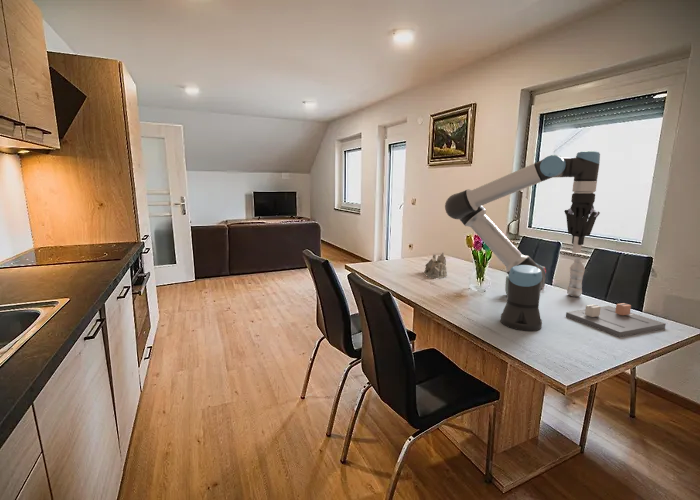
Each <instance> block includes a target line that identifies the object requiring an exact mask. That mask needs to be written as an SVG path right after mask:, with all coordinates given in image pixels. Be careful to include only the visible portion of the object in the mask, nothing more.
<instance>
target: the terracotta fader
mask: <svg viewBox="0 0 700 500" xmlns="http://www.w3.org/2000/svg"><path fill="white" fill-rule="evenodd" d="M615 308H616V311H615V313H617V314H620V315H629V314H630V312H631V310H632V309H631V308H632V305H631V304H628V303H625V302H622V303H616V305H615Z"/></svg>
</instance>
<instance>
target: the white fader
mask: <svg viewBox="0 0 700 500" xmlns="http://www.w3.org/2000/svg"><path fill="white" fill-rule="evenodd" d="M601 307H602V306H600V305H598V304H593V303H592V304H588V305H585V309H586V310H585V315H587V316H590V317H595V316H599V315H600V308H601Z"/></svg>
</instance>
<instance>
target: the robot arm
mask: <svg viewBox="0 0 700 500" xmlns="http://www.w3.org/2000/svg"><path fill="white" fill-rule="evenodd" d="M600 161H601V153H600V152H599V151H597V150H585V151H578V152H577V153H576V155H575V157H562V156H561V155H559V154H558V155H557V154H550V155H548V156H546V157H544V158H543V159H541V160H538V161H536V162H534V163H531V164H529V165H527V166H526V167H525V166H524V167H522V168H520V169H517V170H516V171H513V172H511V173H508V174H506V175H504V176H501V177H500V178H497V179H495V180H492V181H490V182H488V183H486V184H484V185H481V186H479V187H476V188H473V189H465V190H463V191H459V192H458V193H454V194H451V195H450V196H449V197H448V198H447V199H446V201H445V204H444V209H445V213H446V214H447V216H448V217H449V218H451V219H454V220H459V221H460V222H461V224H463V225H464V226H465V227H470V228H471V229H472V230H473V232H474V233H475V234H476V235H477V236H478V237H479V238H480V239H481V241H482V242H483V243H484V244H485V245H486V246H487V247H488V248H489V250H490V251H491V252H492V253H493V254H494V255H495V256H496V257H497V259H498V260H499V261H500V262H501V263H502V264H503V265H504V266H505V269H506V270H505V272H506V274H507V276H509V281H508V293H507V294H506V296H507V297H506V304H505V306H504V308H503V311H502V312H501V314H500V319H499V320H500V323H501V324H503V326H506V327H508V328H510V329H515V330H519V331H525V332H526V331H527V332H533V331H534V332H535V331H539V330H542V327H543V320H542V318H541V313H540V310H539V308H540V305H539V304H540V297H541V290H542V289H543V288H542V286H543V285H544V284H545V285H546V281H547V272H546V273H545V270H544V269H543V267H542V266H543V265H541V264H539V263H537V262H535V261H534V260H533V258H532V257H530V256H529V255H526V254H525V255H524V254H522V252H521V251H520V250H519V249H518V248H517V246H516V245H514V244H513V242H511V240H510V239H509V238H508V236H506V235H505V234H504V233H503V232H502V231H501V230H500V229H499V227H498V226H497V225H496V224H495V223H494V222H493V221H492V220H491V219H490V217H489V216H488V215H486V212H487V209H486V208H485V207H484V205H487V204H490V203H492V202H495V201H497V200H499V199H501V198H504V197H506V196H509V195H511V194H515V193H517V192H519V191H522V190H524V189H527V188H529V187H532V186H535V185H536V184H540V183H542V182H544V181H547V180H549V179H550V180H551V179H553V178H573V183H572V192H573V193H572V194H571V201H570V202H571V205H570V208H568V209H565V210H564V214H565V217H566V226H567V233H568V235H571V236H572V238H571V245H572V253H574V254H578V253H579V254H581V253H582V246H583V245H584V244H585V243H584V241H585V237H588V236H590V235H591V234H592V230H593V228H594V225H595V223H596V219H597V218H598V216H600V214H601V212H600V211H597V210H595V207H594V203H595V199H596V193H595V192H597V185H598V175H599V170H600ZM541 288H542V289H541Z"/></svg>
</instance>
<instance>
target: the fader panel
mask: <svg viewBox="0 0 700 500" xmlns="http://www.w3.org/2000/svg"><path fill="white" fill-rule="evenodd" d="M600 307H601V308H600V315H599V316H595V317H590V316H587V315H585V310H586V308H585V309H584V308H583V309H579V310H578V309H577V310H572V311H567V312H565V317H566V318H568V319H571V320H574V321H576V322H579V323H582V324H584V325H587V326H589V327H592V328H595V329H598V330H600V331H602V332H605V333H608V334H610V335H613V336H615V337H618V338H623V337H629V336H632V335H639V334H642V333H648V332H653V331H657V330H658V331H659V330H663V329H665V328H666V323H665V322H662V321H659V320H655V319H652V318H649V317H646V316H643V315H640V314H637V313H633V312H631V311H630V314H629V315H620V314H617V313H615V311H616V306H612V305H606V306H605V305H604V306H600Z"/></svg>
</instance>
